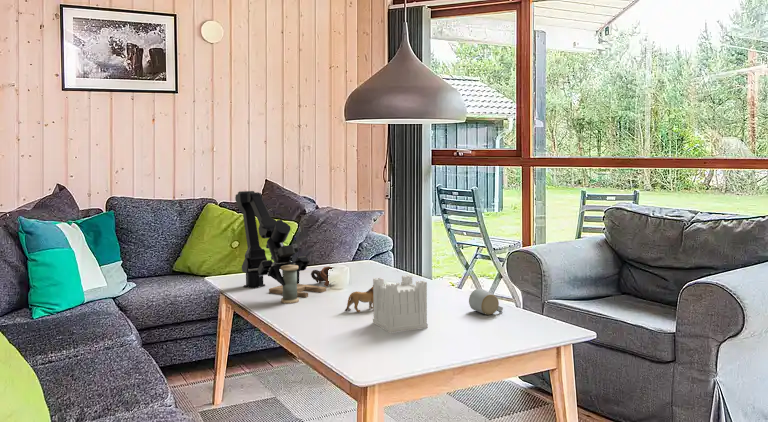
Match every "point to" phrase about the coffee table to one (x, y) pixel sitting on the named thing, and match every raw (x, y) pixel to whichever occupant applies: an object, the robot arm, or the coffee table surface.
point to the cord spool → (289, 284)
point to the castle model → (400, 305)
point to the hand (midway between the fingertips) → (291, 284)
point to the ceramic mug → (484, 302)
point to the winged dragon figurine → (321, 275)
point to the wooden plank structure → (299, 289)
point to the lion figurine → (360, 299)
